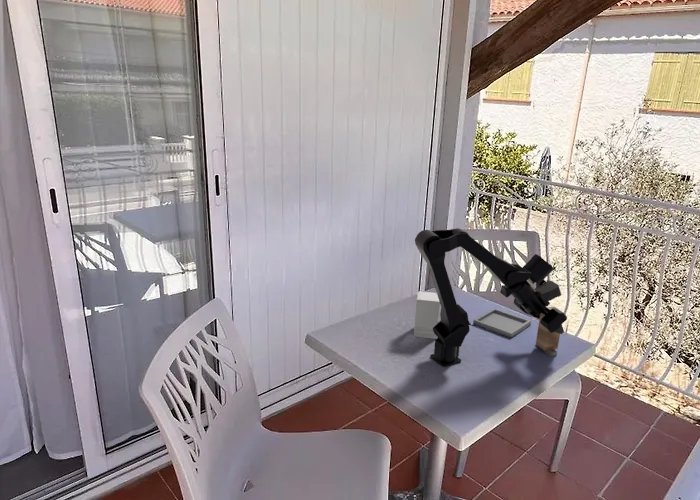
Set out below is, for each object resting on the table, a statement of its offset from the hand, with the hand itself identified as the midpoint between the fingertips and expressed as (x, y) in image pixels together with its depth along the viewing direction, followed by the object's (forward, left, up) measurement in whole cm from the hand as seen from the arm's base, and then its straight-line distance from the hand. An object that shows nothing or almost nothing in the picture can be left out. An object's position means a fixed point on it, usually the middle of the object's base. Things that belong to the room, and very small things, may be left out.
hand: (553, 326), depth 144 cm
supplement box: (-27, +25, -8) cm, 38 cm away
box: (-1, +19, -8) cm, 21 cm away
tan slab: (-1, 0, -8) cm, 8 cm away
